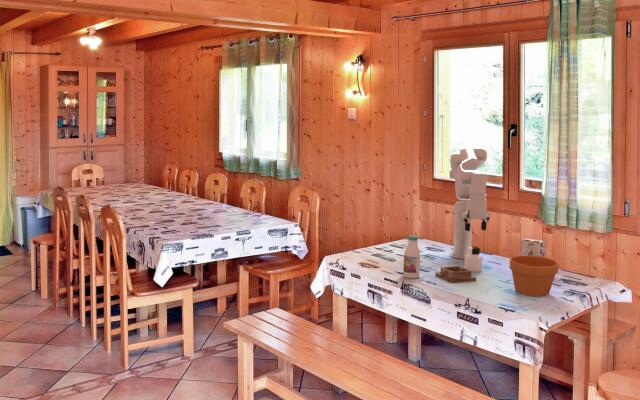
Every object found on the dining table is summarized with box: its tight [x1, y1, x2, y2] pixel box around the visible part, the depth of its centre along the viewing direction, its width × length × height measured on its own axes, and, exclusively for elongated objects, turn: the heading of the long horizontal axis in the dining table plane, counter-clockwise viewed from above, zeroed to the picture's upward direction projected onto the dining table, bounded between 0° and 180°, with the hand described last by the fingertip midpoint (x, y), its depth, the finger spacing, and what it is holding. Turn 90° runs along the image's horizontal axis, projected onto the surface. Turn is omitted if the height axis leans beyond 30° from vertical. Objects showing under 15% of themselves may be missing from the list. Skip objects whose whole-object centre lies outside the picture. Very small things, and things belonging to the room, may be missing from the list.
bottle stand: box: [434, 265, 477, 284], centre depth 311 cm, size 14×14×4 cm
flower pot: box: [509, 255, 560, 298], centre depth 289 cm, size 21×21×15 cm
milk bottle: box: [402, 235, 421, 279], centre depth 310 cm, size 8×8×20 cm
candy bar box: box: [520, 237, 547, 258], centre depth 329 cm, size 11×5×16 cm, turn 47°
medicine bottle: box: [463, 245, 483, 273], centre depth 328 cm, size 7×7×12 cm
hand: (475, 230), depth 326 cm, fingers open, 9 cm apart
